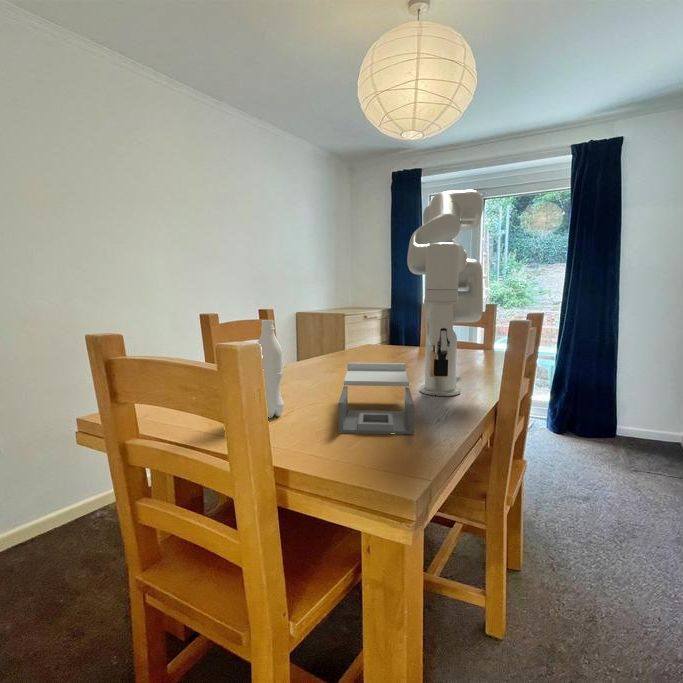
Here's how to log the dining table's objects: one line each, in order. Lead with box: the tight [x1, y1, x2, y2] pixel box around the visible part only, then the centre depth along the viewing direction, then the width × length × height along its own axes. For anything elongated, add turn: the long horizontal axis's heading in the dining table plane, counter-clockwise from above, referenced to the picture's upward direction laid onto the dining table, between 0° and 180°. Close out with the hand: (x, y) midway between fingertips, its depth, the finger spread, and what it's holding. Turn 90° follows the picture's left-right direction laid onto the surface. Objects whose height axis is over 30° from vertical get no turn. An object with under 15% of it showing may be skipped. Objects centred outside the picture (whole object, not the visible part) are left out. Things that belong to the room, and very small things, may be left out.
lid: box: [343, 362, 410, 387], centre depth 114 cm, size 15×17×3 cm
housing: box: [337, 385, 415, 435], centre depth 100 cm, size 15×17×7 cm
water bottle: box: [256, 319, 285, 419], centre depth 105 cm, size 7×7×25 cm
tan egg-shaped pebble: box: [430, 351, 449, 378], centre depth 98 cm, size 4×4×6 cm
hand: (439, 372), depth 99 cm, fingers closed on tan egg-shaped pebble, 4 cm apart
